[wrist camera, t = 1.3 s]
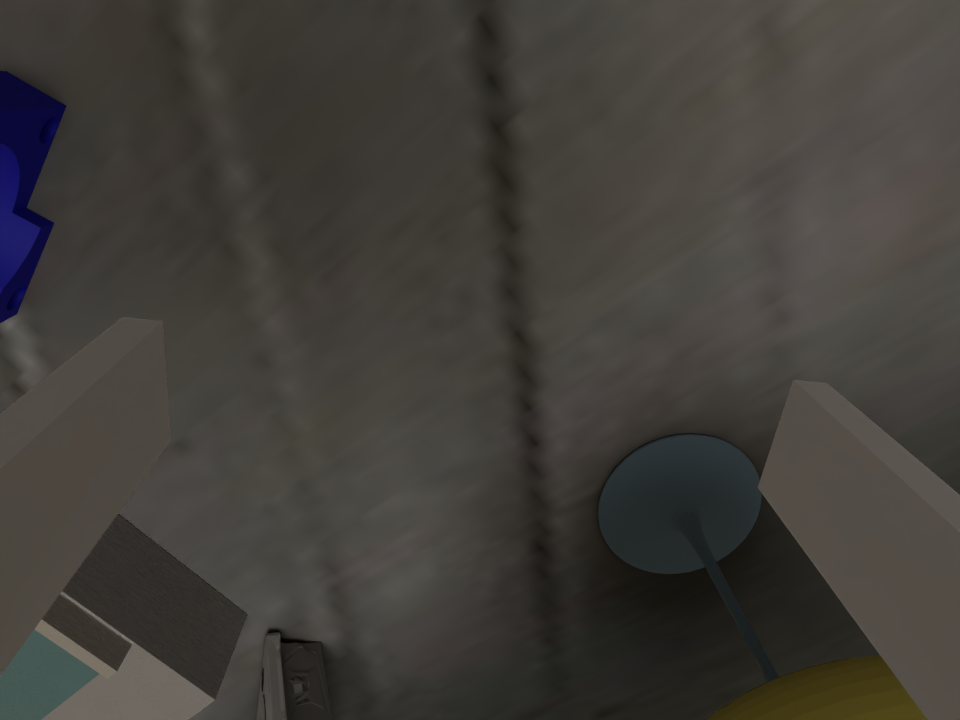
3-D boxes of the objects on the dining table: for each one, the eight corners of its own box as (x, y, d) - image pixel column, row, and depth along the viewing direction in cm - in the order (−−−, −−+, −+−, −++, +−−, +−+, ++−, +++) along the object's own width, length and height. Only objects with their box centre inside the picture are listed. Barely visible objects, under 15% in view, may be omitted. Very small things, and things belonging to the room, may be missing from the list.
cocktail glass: (557, 374, 41) (695, 751, 18) (847, 386, 42) (1325, 754, 19) (530, 610, 48) (606, 1103, 25) (780, 615, 49) (1075, 1091, 26)
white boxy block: (-143, 573, 45) (-280, 687, 36) (10, 429, 41) (-102, 519, 33) (96, 729, 51) (27, 857, 42) (247, 614, 47) (203, 729, 39)
